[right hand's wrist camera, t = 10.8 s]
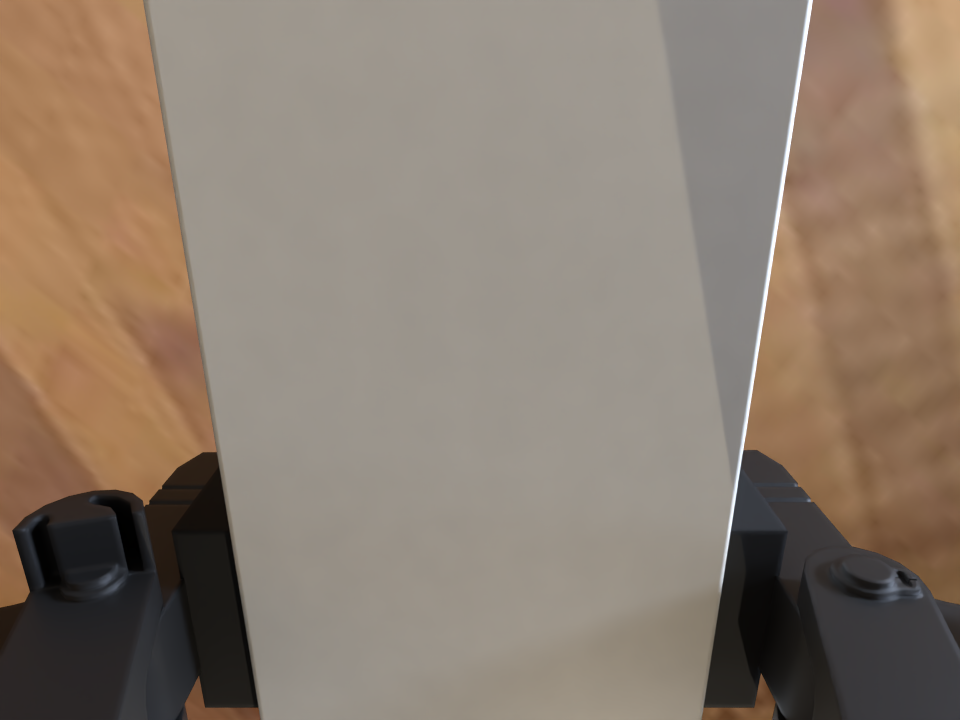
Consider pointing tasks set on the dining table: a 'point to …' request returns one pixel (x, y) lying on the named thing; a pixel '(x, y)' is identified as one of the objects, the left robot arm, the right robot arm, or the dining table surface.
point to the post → (479, 335)
